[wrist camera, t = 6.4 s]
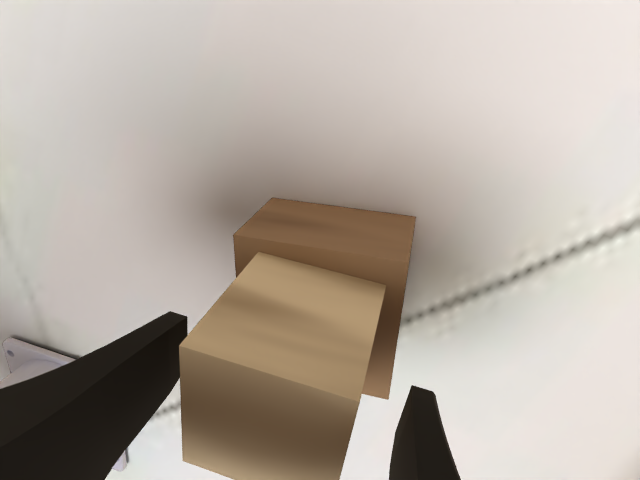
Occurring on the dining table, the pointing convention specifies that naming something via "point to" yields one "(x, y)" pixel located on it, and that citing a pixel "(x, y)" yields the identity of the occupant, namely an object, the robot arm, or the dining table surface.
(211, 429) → the beech cube
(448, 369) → the dining table surface
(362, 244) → the walnut plinth
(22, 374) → the robot arm
